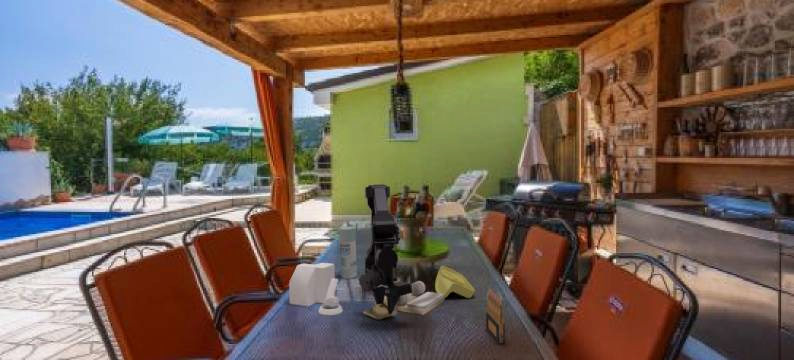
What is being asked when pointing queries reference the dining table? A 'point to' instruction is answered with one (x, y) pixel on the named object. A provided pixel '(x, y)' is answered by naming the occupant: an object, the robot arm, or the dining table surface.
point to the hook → (331, 301)
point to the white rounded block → (310, 283)
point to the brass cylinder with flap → (380, 311)
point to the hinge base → (418, 300)
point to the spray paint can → (348, 252)
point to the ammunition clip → (495, 318)
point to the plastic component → (452, 283)
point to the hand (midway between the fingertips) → (385, 312)
